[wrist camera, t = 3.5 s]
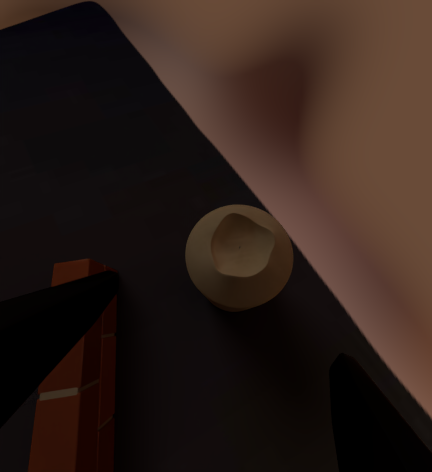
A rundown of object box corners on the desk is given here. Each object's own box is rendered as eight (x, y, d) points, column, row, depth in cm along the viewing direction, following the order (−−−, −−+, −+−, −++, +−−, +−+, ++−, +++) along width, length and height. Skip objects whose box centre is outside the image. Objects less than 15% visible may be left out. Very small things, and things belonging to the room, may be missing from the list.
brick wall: (110, 653, 12) (50, 832, 8) (64, 662, 12) (-21, 845, 8) (117, 270, 20) (89, 258, 16) (89, 274, 20) (53, 263, 15)
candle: (197, 255, 20) (173, 200, 10) (255, 244, 20) (282, 181, 11) (207, 317, 18) (188, 319, 9) (271, 305, 18) (322, 293, 9)
